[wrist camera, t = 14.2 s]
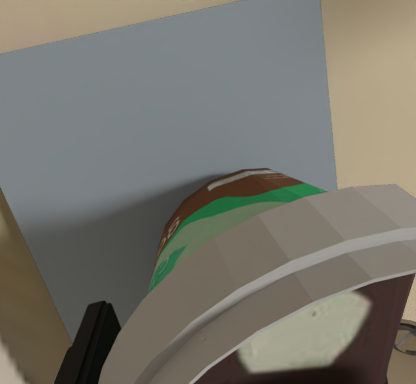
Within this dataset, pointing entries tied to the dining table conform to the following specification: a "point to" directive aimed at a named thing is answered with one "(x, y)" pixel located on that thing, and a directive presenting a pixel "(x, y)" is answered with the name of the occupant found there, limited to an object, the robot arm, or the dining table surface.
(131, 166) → the slate mat
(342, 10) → the dining table surface
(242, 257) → the food container
